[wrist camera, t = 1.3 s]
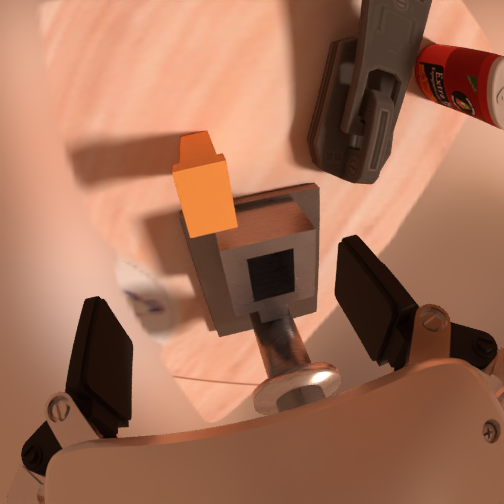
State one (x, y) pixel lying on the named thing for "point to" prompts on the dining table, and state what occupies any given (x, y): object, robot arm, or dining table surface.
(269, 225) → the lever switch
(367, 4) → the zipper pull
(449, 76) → the canned food
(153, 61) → the dining table surface
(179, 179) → the orange tapered block
